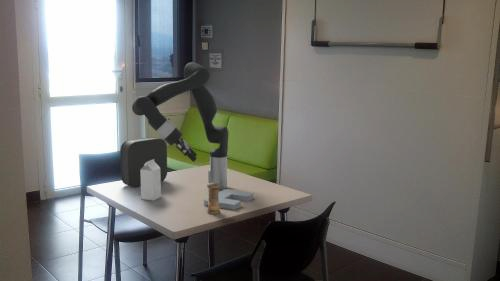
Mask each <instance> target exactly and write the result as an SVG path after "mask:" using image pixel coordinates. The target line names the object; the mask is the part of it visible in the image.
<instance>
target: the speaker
mask: <svg viewBox="0 0 500 281" xmlns="http://www.w3.org/2000/svg"><path fill="white" fill-rule="evenodd" d="M119 150H120V152H119V154H120V156H119V157H120V179H121V181H122V183H123V184H125V185H127V186H131V187H132V188H141V173H140V170H141V169H142V168H143V167H144V164H145V163H146V162H148V161H151V160H153V159H154V162H155V163H156V164H157V165H158V166H159V167H160V174H161V183H162V182H164V181H165V179H166V178H167V176H168V146H167V142H166V141H165V140H164V139H163V138H158V137H155V136H150V137H149V136H148V137H140V138H132V139H127V140H125V141H124V142H123V143H122V144H121V146H120V149H119Z"/></svg>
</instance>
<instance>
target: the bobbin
mask: <svg viewBox="0 0 500 281" xmlns="http://www.w3.org/2000/svg"><path fill="white" fill-rule="evenodd" d="M206 187H207V188H208V198H209V200H208V206H207V214H209V215H218V214H220V211H221V210H220V208H219V200H218V193H219V189H218V188H219V187H220V184H219V183H209V184H208V183H207V186H206Z"/></svg>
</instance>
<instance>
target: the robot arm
mask: <svg viewBox="0 0 500 281" xmlns="http://www.w3.org/2000/svg"><path fill="white" fill-rule="evenodd" d="M210 74H211V73H210V70H208V69H207V68H206V67H204V66H203V65H201V64H199V63H197V62H193V61H191V62H188V63H187V64H186V65H185V66H184V69H183V76H184V79H181V80H178V81H172V82H168V83H165V84H162V85H160V86H158V87H157V88H155V89H153V90H152V91H150V92H149V93H148V94H146V95H141V96H138V97H137V98H136V99H135V101H134V102H133V103H132V105H131V109H132V112H133V114H134V115H137V116H144V117H146V119H147V123H148V125H149V126H151V128H152V129H153V130H154V131H155V132H156V133H157V134H158V135H159V136H160V137H161V139H163V140H164V141H165V142H166V144H168V145H169V146H173V145H175V146H176V148H177V149H178V150H179V152H181V153H182V154H183V156H185V157H187V158H189V159H190V160H191V162H193V163H194V162H195V161H197V156H198V155H197V153H196V152H195V151H194V150H193V149H192V147H191V145H189V144H188V142H186V140H185V139H184V138H182V136H183V132H182V131H180V129H178V127H176V126H175V125H174V124H173V123H172V121H170V120H168V119H167V117H165V116H164V115H163V114H162V113H161V112H160V110H159V109H158V106H160V105H162V104H164V103H166V102H168V101H169V100H171V99H173V98H174V97H176V96H180V95H182V94H184V93H187V92H189V91H191V93H192V97H193V100H194V101H195V102H194V103H195V104H196V107H197V110H198V113H199V116H200V118H201V121H202V124H203V127H204V131H205V136H206V139H207V141H208V142H209V143H211V144H219V147H217V148H215V149H211V150H210V151H209V170H207V171H208V173H207V174H208V179H207V180H208V183H207V184H209V183H219V184H220V187H219V188H218V190H225V189H227V188H228V150H229V148H228V147H229V129H228V127H226V126H224V125H223V126H222V125H221V126H218V125H214V124H213V120H214V118H215V117H216V115H217V111H218V107H217V104H216V101H215V98H214V96H213V95H212V93H211V92H210V91H209V90H208V88H207V87H206V84H207V82H208V81H209V79H210Z"/></svg>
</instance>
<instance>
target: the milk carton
mask: <svg viewBox="0 0 500 281" xmlns="http://www.w3.org/2000/svg"><path fill="white" fill-rule="evenodd" d="M140 173H141V187H140V199H141V200H147V201H156V200H159V199H160V198H161V196H162V188H161V186H162V182H161V174H160V167H159V166H158V165H157V164H156V163H155V162H154V159H153V160H151V161H148V162H146V163H145V164H144V167H143V168H142V169H141V170H140Z"/></svg>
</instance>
